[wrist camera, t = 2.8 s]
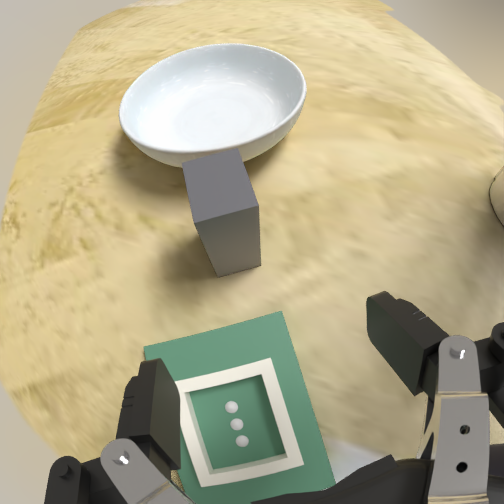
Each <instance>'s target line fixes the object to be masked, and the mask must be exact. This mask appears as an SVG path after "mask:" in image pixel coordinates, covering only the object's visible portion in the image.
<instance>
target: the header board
mask: <svg viewBox="0 0 504 504" xmlns="http://www.w3.org/2000/svg"><path fill="white" fill-rule="evenodd" d="M144 352H145V357H146V361H147V360H152V359H157V358H161V359H162V360H163V362H164V364H165V366H166V367H167V369H168V371H169V373H170V375H171V376H172V378H173V380H174V382H175V384H176V385H177V388H178V391H179V394H180V447H181V469H179V470H177V471H178V474H179V477H180V480H181V482H182V485H183V488H184V490H185V493H186V494H187V495H188V496H189V497H190V498H191V499H192V500H193V501H194V502H195V503H196V504H251V503H250V502H253V501H257V500H262V499H267V498H271V497H275V496H279V495H283V494H288V493H302V492H313V491H320V490H323V489H326V488H329V487H332V486H334V485H335V484H336V483H335V479H334V476H333V473H332V470H331V466H330V463H329V460H328V456H327V453H326V450H325V447H324V443H323V440H322V437H321V434H320V430H319V427H318V424H317V421H316V418H315V414H314V411H313V408H312V405H311V402H310V398H309V395H308V392H307V389H306V386H305V382H304V379H303V376H302V373H301V370H300V367H299V363H298V360H297V357H296V354H295V351H294V348H293V345H292V341H291V338H290V335H289V332H288V329H287V326H286V323H285V320H284V317H283V313H282V311H279V312H275V313H272V314H269V315H265V316H262V317H258V318H255V319H251V320H248V321H244V322H241V323H237V324H234V325H230V326H226V327H222V328H219V329H215V330H211V331H207V332H203V333H199V334H195V335H191V336H187V337H183V338H179V339H175V340H171V341H167V342H162V343H158V344H154V345H149V346H145V347H144Z"/></svg>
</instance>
